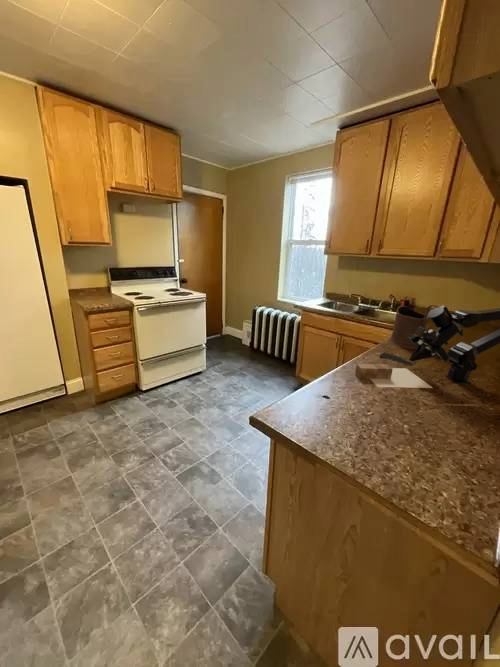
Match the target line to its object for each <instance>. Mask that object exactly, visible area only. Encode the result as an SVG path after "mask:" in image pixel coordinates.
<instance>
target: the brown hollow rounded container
mask: <svg viewBox="0 0 500 667" xmlns="http://www.w3.org/2000/svg"><path fill="white" fill-rule="evenodd" d="M432 307H433V308H434V307H435V308H438V307H440V306H439V305H437V304H432V305H428V306H427V307H426V310H425V313H422V312H419V311H416V310H414V309H413V308H410V307H409V306H406V305H401V306H398V307H397V309H396V314H395V318H394V323H393V327H392V328H393V329H392V332H391V336H390V338H388V340H387V342H388V343H390V344H391V345H393V346H397V347H400V348H404V349H412V350H415V348H416V346H415V345H414V344H413V342H412V341H411V340H410V339H409V336H410V335H411V334H415V332H416V330H417V329H418V327H421V328H424V329H426V330H428V331H429V330H432V328H434V327H436V326H435V325H434V324H433V323H432V325H431V326H429V327H427V324H428V320H429V317H428V313H429V312H430V310H431V308H432ZM416 335H418V334H416ZM418 336H419V335H418ZM420 338H421V336H420ZM421 339H422V338H421ZM422 340H423V339H422ZM423 341H424V340H423Z"/></svg>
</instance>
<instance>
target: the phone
mask: <svg viewBox="0 0 500 667" xmlns="http://www.w3.org/2000/svg"><path fill="white" fill-rule="evenodd" d="M378 357H380V358H379V359H382V358H383V360H390V361H393V362H396V363H400V364H402V365H406V366H410V367H411V366H413V365H415V364H416V363H417V361H413V362H411V361H410V360H409V358H405V357H401V356H397V355H396V354H395V355H394V354H391V353H388V352H384V353H382V354H379V356H378Z"/></svg>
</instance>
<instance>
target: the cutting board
mask: <svg viewBox="0 0 500 667" xmlns="http://www.w3.org/2000/svg"><path fill="white" fill-rule="evenodd" d="M391 368H392V369H393V370H392V375H391V379H369V380H370V381H372V383H373V384H374V385H375V386H376V387H377V388H407V389H409V388H411V389H412V388H414V389H415V388H416V389H421V388H422V389H424V388H425V389H434V387H432V386H431V385H430V384H428V382H426V381H424V380H423V379H422V378H420V377H419V376H418V375H416V374H415V373H413V372H412V371H410V370H409V369H408V368H405V367H404V368H401V367H400V368H399V367H398V368H397V367H391Z"/></svg>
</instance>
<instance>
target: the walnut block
mask: <svg viewBox="0 0 500 667" xmlns="http://www.w3.org/2000/svg"><path fill="white" fill-rule="evenodd" d="M392 368H393V367H391V366H389V365H388V364H385V363H384V364H382V363H381V364H376V363H356V366H355V370H354V374H355V375H356V377H357V378H358V379H361V380H362V379H365V380H366V379H367V380H370V379H391V375H392V370H393V369H392Z"/></svg>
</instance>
